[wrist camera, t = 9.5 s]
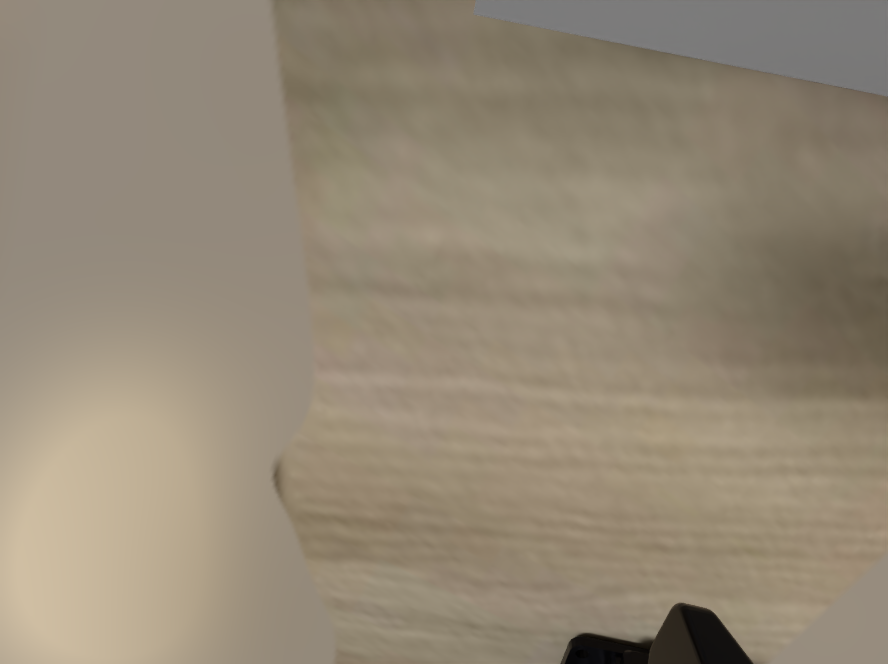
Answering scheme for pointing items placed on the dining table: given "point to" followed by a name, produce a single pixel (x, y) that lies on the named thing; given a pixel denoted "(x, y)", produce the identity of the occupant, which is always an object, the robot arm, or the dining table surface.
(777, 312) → the dining table surface
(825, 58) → the holder block
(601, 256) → the dining table surface
